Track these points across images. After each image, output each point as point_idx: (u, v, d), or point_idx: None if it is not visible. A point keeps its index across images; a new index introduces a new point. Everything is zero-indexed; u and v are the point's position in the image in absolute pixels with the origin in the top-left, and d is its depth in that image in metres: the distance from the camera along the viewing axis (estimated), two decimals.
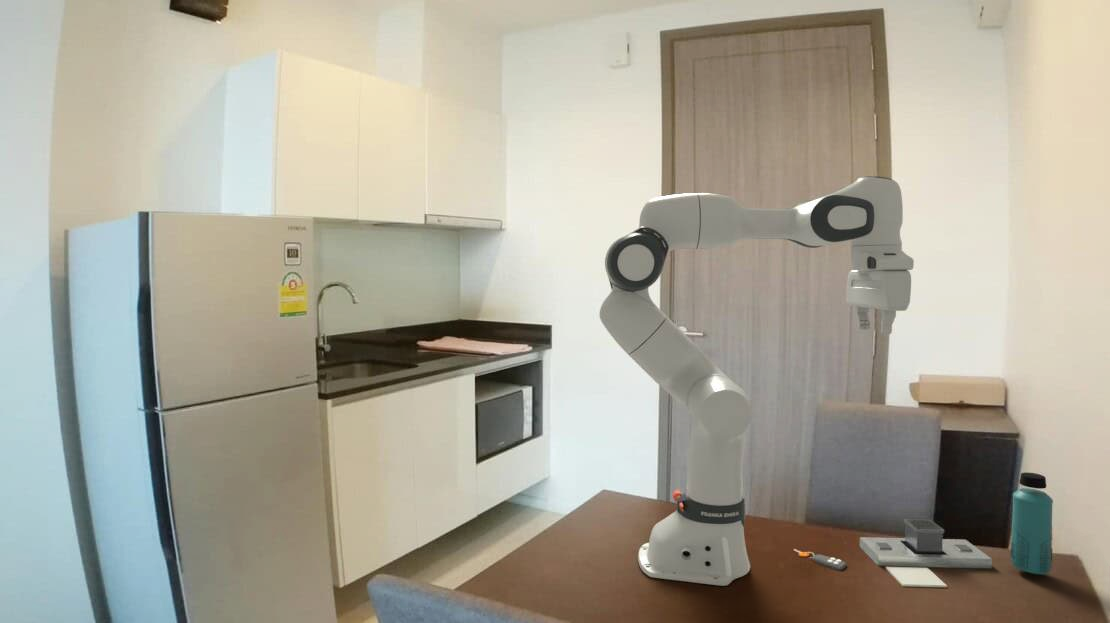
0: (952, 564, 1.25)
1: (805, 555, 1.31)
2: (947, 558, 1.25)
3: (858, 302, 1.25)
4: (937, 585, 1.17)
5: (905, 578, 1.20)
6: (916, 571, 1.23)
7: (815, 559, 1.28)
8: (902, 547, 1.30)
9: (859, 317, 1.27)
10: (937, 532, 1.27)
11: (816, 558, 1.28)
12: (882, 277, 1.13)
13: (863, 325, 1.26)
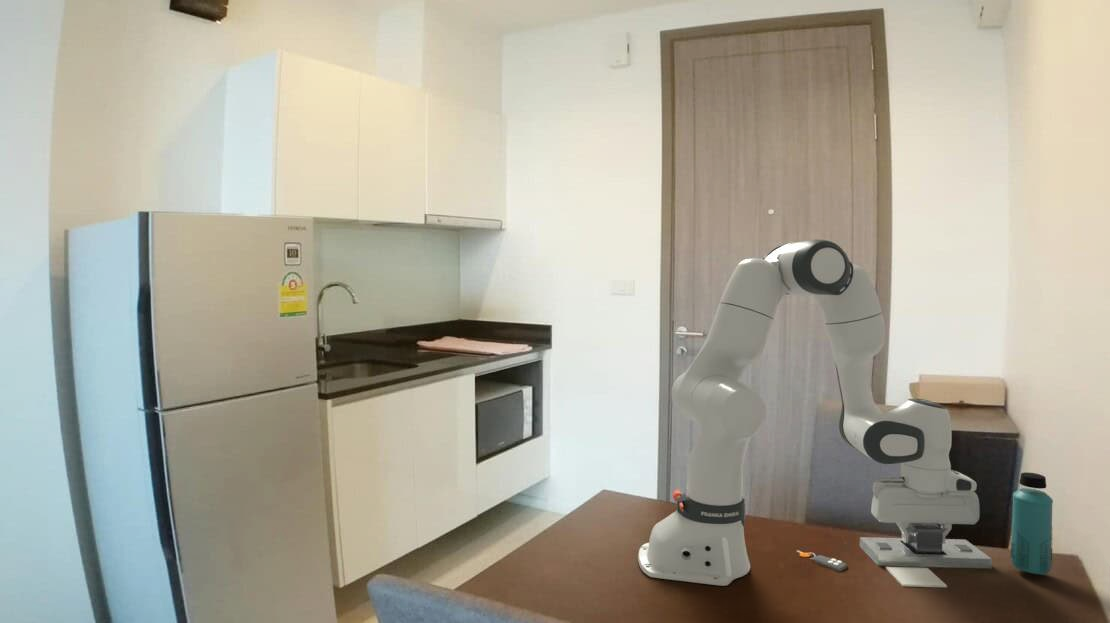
0: (952, 564, 1.25)
1: (806, 556, 1.30)
2: (947, 558, 1.25)
3: (912, 519, 1.28)
4: (937, 585, 1.17)
5: (905, 578, 1.20)
6: (916, 571, 1.23)
7: (815, 560, 1.28)
8: (902, 547, 1.30)
9: (907, 532, 1.29)
10: (937, 532, 1.27)
11: (816, 559, 1.28)
12: (974, 497, 1.26)
13: None
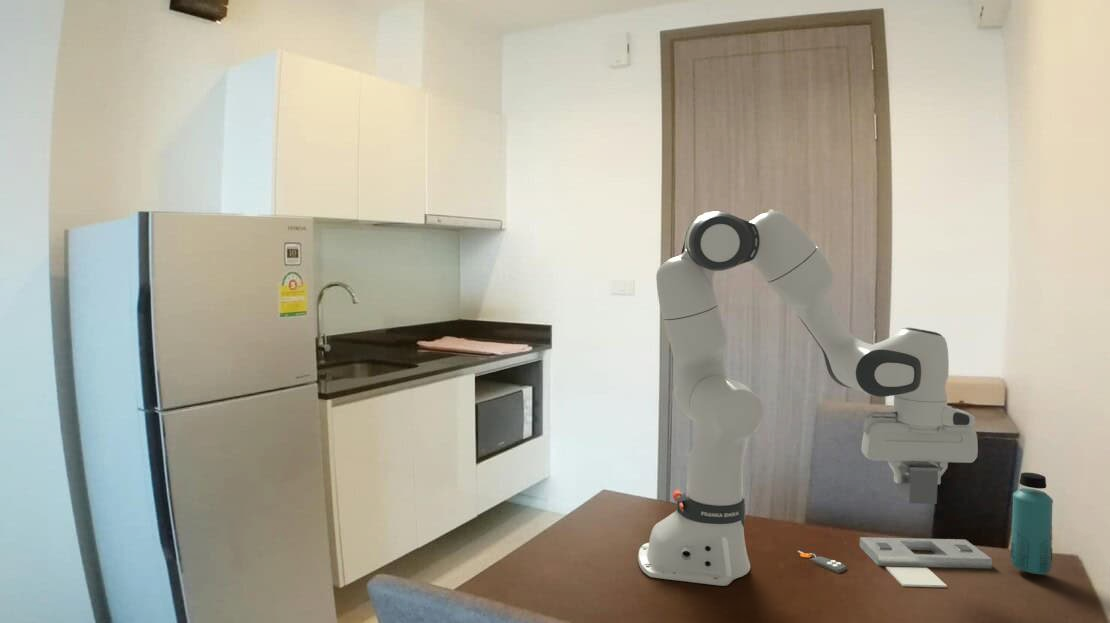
0: (952, 564, 1.25)
1: (806, 556, 1.30)
2: (947, 558, 1.25)
3: (905, 457, 1.18)
4: (937, 585, 1.17)
5: (905, 578, 1.20)
6: (916, 571, 1.23)
7: (815, 560, 1.28)
8: (902, 547, 1.30)
9: (899, 471, 1.20)
10: (932, 470, 1.17)
11: (816, 559, 1.27)
12: (972, 432, 1.16)
13: None
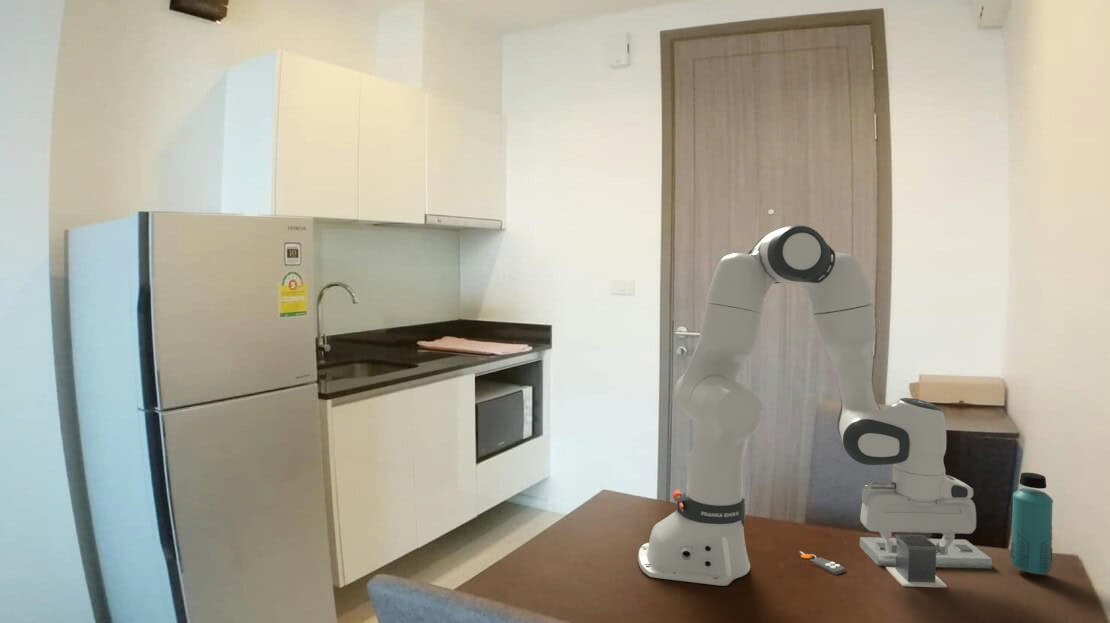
0: (952, 564, 1.25)
1: (807, 557, 1.30)
2: (947, 558, 1.25)
3: (904, 528, 1.19)
4: (937, 585, 1.17)
5: None
6: None
7: (814, 561, 1.27)
8: None
9: (890, 541, 1.20)
10: (930, 549, 1.18)
11: (815, 561, 1.27)
12: (970, 504, 1.17)
13: None
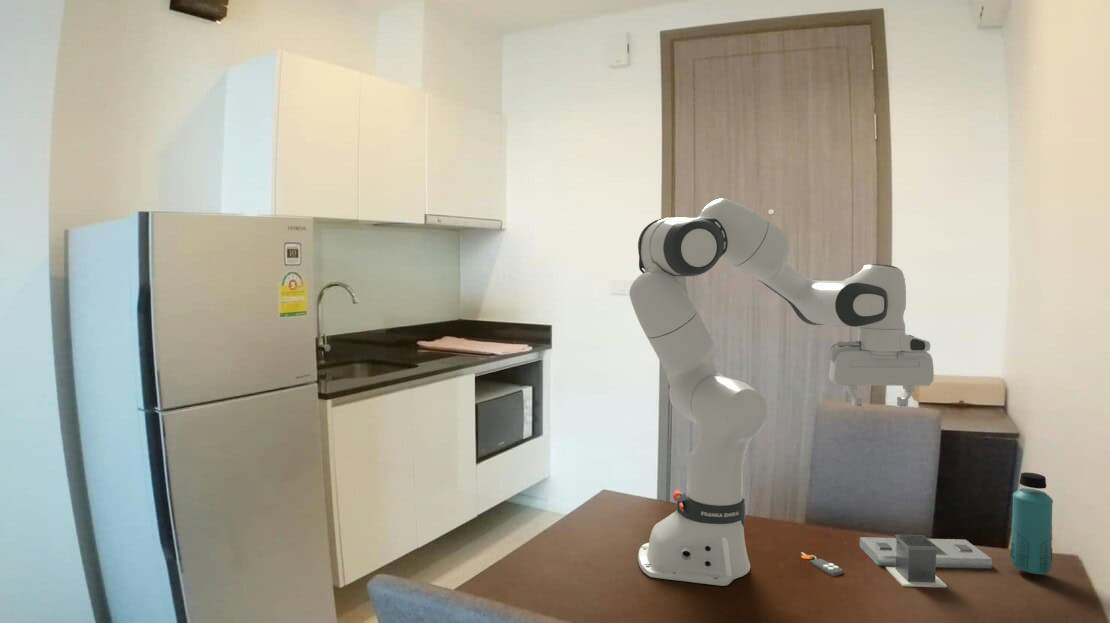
0: (952, 564, 1.25)
1: (807, 558, 1.29)
2: (947, 558, 1.25)
3: (868, 381, 1.30)
4: (937, 585, 1.17)
5: None
6: None
7: (813, 562, 1.27)
8: None
9: None
10: (930, 549, 1.18)
11: (814, 561, 1.27)
12: (928, 357, 1.28)
13: None
